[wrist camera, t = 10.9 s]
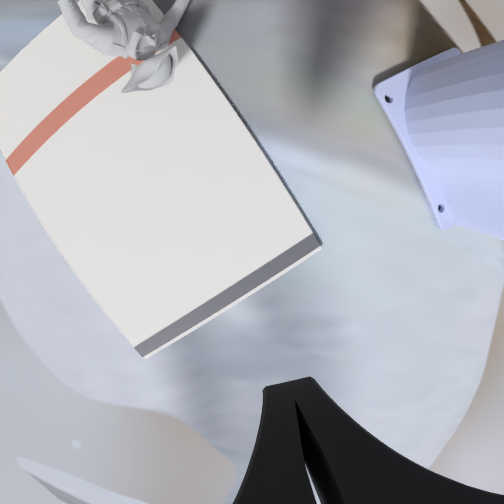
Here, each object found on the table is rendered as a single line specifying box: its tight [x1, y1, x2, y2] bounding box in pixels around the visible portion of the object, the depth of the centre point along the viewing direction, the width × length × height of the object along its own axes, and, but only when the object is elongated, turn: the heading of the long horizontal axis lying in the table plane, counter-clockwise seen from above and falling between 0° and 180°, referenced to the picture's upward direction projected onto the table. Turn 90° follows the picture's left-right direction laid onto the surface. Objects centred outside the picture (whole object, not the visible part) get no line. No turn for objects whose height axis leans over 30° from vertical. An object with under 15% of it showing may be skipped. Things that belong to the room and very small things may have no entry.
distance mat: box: [0, 0, 322, 359], centre depth 15 cm, size 20×12×1 cm, turn 33°
